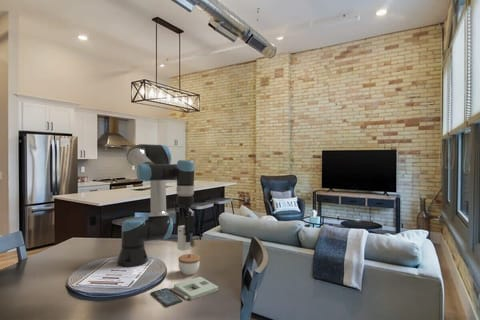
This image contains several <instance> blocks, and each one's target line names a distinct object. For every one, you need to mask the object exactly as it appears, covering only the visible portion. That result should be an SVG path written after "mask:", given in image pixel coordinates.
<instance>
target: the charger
mask: <svg viewBox="0 0 480 320" xmlns="http://www.w3.org/2000/svg"><path fill="white" fill-rule="evenodd" d="M184 234H185V227H184V225H182V226H178V231H177V250H180V251H182V252H183V251H185V250H184ZM188 250H189V249H187V250H186V251H188Z"/></svg>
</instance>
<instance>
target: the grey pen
mask: <svg viewBox="0 0 480 320" xmlns="http://www.w3.org/2000/svg"><path fill="white" fill-rule="evenodd" d="M166 288H167V289H168V290H169V291H171V292H172V293H173V294H175V295H178V296H180V297H182V298H184V299H185V300H188V299H189V297H188V296H185V295H184V294H182V293H181V292H179V291H178V290H176V289H175V288H174V289H173V288H172V287H171V286H168V287H166ZM189 300H190V299H189Z"/></svg>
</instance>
